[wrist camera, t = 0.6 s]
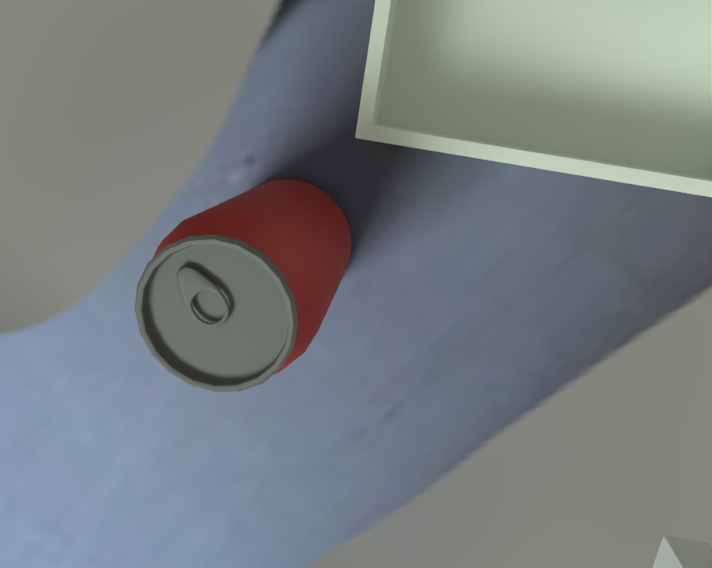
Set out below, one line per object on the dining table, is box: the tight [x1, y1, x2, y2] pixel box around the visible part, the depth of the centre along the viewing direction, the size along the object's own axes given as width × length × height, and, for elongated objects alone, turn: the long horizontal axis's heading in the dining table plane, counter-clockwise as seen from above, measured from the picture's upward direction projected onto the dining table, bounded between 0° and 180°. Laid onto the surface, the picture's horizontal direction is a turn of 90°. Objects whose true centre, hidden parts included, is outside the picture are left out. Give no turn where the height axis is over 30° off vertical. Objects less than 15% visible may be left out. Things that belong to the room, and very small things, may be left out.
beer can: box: [135, 179, 352, 392], centre depth 24 cm, size 7×7×12 cm
